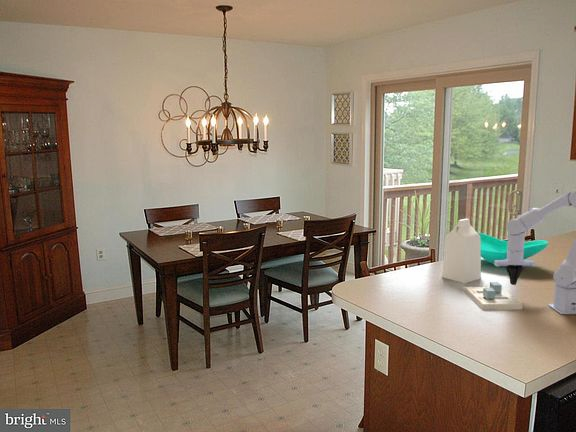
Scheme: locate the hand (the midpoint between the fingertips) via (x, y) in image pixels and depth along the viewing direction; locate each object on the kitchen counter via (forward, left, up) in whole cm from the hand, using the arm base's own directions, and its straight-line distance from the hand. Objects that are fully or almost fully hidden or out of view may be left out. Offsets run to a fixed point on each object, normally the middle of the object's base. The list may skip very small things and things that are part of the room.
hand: (513, 284), depth 189 cm
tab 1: (-7, +12, -3) cm, 14 cm away
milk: (+26, +11, -5) cm, 29 cm away
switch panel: (-4, +9, -5) cm, 11 cm away
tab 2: (0, +7, -3) cm, 7 cm away
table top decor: (+48, -15, -5) cm, 51 cm away
